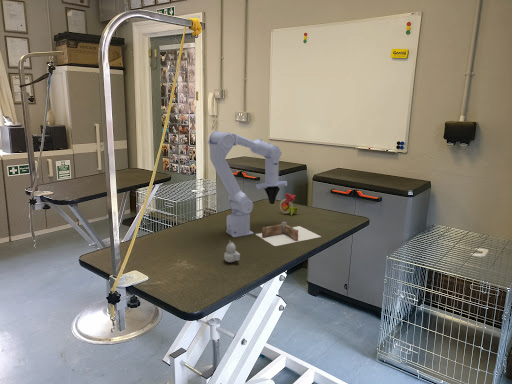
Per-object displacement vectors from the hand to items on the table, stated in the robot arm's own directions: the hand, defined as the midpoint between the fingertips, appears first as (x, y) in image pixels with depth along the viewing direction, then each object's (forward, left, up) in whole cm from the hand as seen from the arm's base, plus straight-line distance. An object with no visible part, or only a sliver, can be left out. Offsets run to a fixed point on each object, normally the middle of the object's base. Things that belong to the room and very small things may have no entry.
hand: (271, 203), depth 177 cm
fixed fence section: (-6, -12, -10) cm, 17 cm away
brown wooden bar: (-1, -18, -10) cm, 20 cm away
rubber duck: (-32, -28, -11) cm, 44 cm away
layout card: (-1, -15, -10) cm, 18 cm away
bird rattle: (+16, +12, -11) cm, 23 cm away
